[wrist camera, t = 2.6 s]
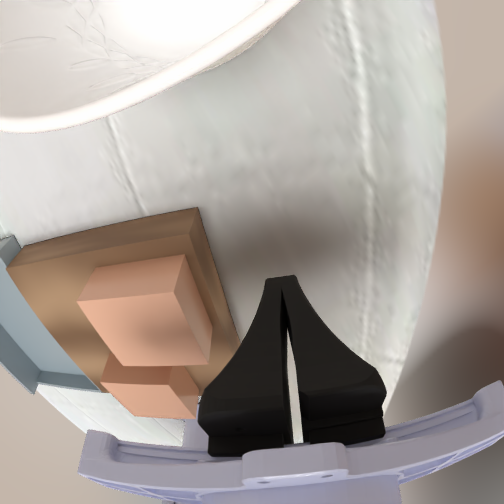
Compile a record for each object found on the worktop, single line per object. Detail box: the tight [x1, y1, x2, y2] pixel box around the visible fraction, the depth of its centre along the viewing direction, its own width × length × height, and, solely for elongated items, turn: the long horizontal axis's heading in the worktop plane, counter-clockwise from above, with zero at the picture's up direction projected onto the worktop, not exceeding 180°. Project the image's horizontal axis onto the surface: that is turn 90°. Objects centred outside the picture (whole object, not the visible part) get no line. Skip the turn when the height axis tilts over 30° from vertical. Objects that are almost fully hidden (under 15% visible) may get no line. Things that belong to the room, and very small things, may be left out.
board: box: [5, 207, 241, 396], centre depth 18 cm, size 14×13×2 cm
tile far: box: [100, 353, 199, 419], centre depth 18 cm, size 5×5×2 cm
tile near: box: [76, 254, 213, 366], centre depth 14 cm, size 5×5×2 cm
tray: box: [0, 235, 104, 394], centre depth 19 cm, size 16×10×4 cm, turn 10°
